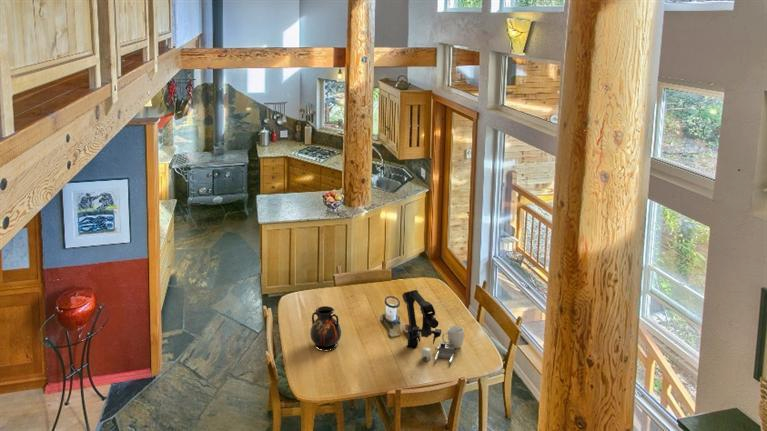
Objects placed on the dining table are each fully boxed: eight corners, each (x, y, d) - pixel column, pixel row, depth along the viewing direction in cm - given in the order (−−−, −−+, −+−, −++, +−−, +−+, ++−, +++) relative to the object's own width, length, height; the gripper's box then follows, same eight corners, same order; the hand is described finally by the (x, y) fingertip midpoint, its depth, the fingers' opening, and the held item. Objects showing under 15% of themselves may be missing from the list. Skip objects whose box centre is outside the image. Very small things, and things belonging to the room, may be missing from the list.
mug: (441, 349, 447) (441, 332, 443) (442, 341, 458) (442, 324, 454) (463, 350, 445) (463, 333, 441) (463, 342, 456) (464, 325, 452)
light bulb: (420, 362, 431) (420, 352, 429) (422, 356, 439) (422, 346, 437) (428, 363, 430) (429, 354, 428) (431, 357, 437) (431, 348, 435)
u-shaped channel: (430, 362, 431) (430, 351, 428) (435, 350, 446) (436, 339, 444) (450, 365, 427) (451, 354, 425) (455, 352, 443) (455, 342, 440)
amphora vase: (306, 352, 445) (304, 315, 437) (316, 337, 465) (315, 301, 457) (336, 355, 441) (334, 318, 432) (345, 340, 460) (344, 304, 452)
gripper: (410, 325, 422) (410, 347, 427) (438, 329, 417) (438, 350, 422) (414, 318, 432) (413, 339, 437) (441, 321, 427) (441, 342, 432)
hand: (426, 343), depth 432 cm, fingers open, 9 cm apart
